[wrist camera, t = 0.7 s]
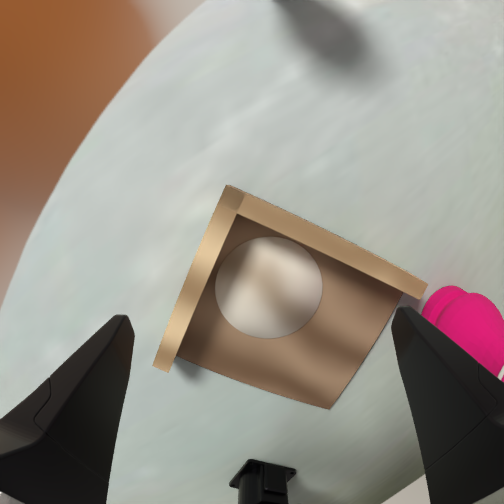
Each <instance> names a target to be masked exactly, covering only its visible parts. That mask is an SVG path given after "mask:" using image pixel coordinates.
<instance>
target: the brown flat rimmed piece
mask: <svg viewBox="0 0 504 504" xmlns="http://www.w3.org/2000/svg"><path fill="white" fill-rule="evenodd" d="M427 286H428V284H427V283H426V282H424V281H422V280H421V279H419V278H417V277H416V276H414V275H413V274H411V273H409V272H407V271H405V270H404V269H402V268H400V267H398V266H396V265H394V264H392V263H390V262H388V261H387V260H385V259H383V258H381V257H379V256H377V255H375V254H373V253H371V252H369V251H367V250H365V249H363V248H361V247H359V246H357V245H355V244H354V243H352V242H350V241H348V240H346V239H344V238H342V237H340V236H338V235H336V234H333V233H331V232H329V231H327V230H325V229H323V228H321V227H319V226H317V225H315V224H313V223H311V222H309V221H307V220H305V219H303V218H301V217H298V216H296V215H294V214H292V213H290V212H288V211H286V210H284V209H281V208H279V207H277V206H275V205H273V204H271V203H268V202H266V201H264V200H262V199H260V198H258V197H255V196H253V195H251V194H249V193H246V192H244V191H242V190H240V189H238V188H235V187H233V186H231V185H226V186H225V188H224V191H223V193H222V195H221V197H220V200H219V202H218V204H217V206H216V209H215V211H214V213H213V215H212V218H211V220H210V222H209V225H208V227H207V229H206V232H205V234H204V236H203V239H202V241H201V243H200V246H199V248H198V251H197V253H196V255H195V258H194V260H193V263H192V265H191V267H190V270H189V272H188V275H187V277H186V280H185V282H184V285H183V287H182V290H181V292H180V295H179V297H178V300H177V302H176V305H175V307H174V310H173V312H172V315H171V317H170V320H169V323H168V325H167V328H166V330H165V333H164V336H163V338H162V341H161V344H160V346H159V349H158V352H157V354H156V357H155V360H154V363H153V365H152V366H154V367H156V368H159V369H161V370H163V371H165V372H168V373H169V370H170V368H171V366H172V363H173V361H174V359H175V356H178V357H180V358H182V359H185V360H187V361H189V362H192V363H194V364H197V365H199V366H201V367H204V368H206V369H209V370H211V371H214V372H217V373H219V374H222V375H224V376H227V377H230V378H232V379H235V380H238V381H240V382H243V383H246V384H249V385H251V386H254V387H257V388H260V389H263V390H266V391H269V392H272V393H275V394H278V395H281V396H284V397H288V398H291V399H294V400H297V401H301V402H304V403H307V404H311V405H314V406H318V407H321V408H325V409H330V407H331V406H332V405H333V403H334V402H335V401H336V399H337V398H338V397H339V395H340V394H341V392H342V391H343V390H344V388H345V387H346V385H347V384H348V382H349V381H350V379H351V378H352V376H353V375H354V374H355V372H356V371H357V369H358V368H359V366H360V365H361V363H362V361H363V360H364V358H365V357H366V355H367V354H368V352H369V351H370V349H371V347H372V346H373V344H374V342H375V341H376V339H377V338H378V336H379V334H380V333H381V331H382V329H383V328H384V326H385V324H386V322H387V321H388V319H389V317H390V316H391V314H392V312H393V310H394V308H395V307H396V305H397V303H398V301H399V299H400V298H401V296H402V294H403V292H405V293H407V294H409V295H411V296H413V297H415V298H417V299H419V300H420V299H421V297H422V295H423V293H424V292H425V290H426V288H427Z"/></svg>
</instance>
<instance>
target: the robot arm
mask: <svg viewBox="0 0 504 504" xmlns="http://www.w3.org/2000/svg"><path fill="white" fill-rule="evenodd" d="M391 330H392V335H393V340H394V345H395V350H396V355H397V360H398V365H399V369H400V373H401V377H402V380H403V383H404V387H405V390H406V394H407V398H408V401H409V405H410V409H411V413H412V416H413V420H414V424H415V428H416V433H417V437H418V441H419V445H420V450H421V454H422V459H423V464H424V469H425V475H426V480H427V485H428V491H429V497H430V503H431V504H504V382H503V381H501V380H500V379H499V378H497V377H496V376H495V375H494V374H492V373H491V372H490V371H489V370H487V369H486V368H485V367H484V366H483V365H482V364H480V363H478V361H477V360H476V359H474V358H473V357H472V356H471V355H470V354H468V353H467V352H466V351H465V350H464V349H463V348H461V347H460V346H459V345H458V344H456V343H455V342H454V341H453V340H452V339H450V338H449V337H448V336H447V335H445V334H444V333H443V332H442V331H441V330H439V329H438V328H437V327H436V326H434V325H433V324H432V323H431V322H429V321H428V320H427V319H426V318H424V317H423V316H422V315H421V314H419V313H418V312H417V311H415V310H414V309H413V308H412V307H410V306H400V307H398V308H397V310H396V313H395V316H394V318H393V321H392V325H391ZM134 338H135V335H134V330H133V328H132V325H131V323H130V320H129V318H128V316H127V315H115V316H113V317H112V318H111V319H110V320H109V321H108V322H107V323H106V324H105V325H104V326H102V327H101V328H100V329H99V330H98V331H97V332H96V333H95V334H94V335H93V336H92V337H91V338H89V339H88V340H87V341H86V342H85V343H84V344H83V345H82V346H81V347H80V348H79V349H78V350H77V351H76V352H75V353H73V354H72V355H71V356H70V357H69V358H68V359H67V360H66V361H65V362H64V363H63V364H62V365H61V366H60V367H59V368H58V369H57V370H56V371H55V372H54V373H53V374H52V375H50V378H47V379H46V380H45V381H44V382H43V383H42V384H41V385H40V386H39V387H38V388H37V389H36V390H35V391H34V392H33V393H31V394H30V395H29V396H28V397H27V398H26V399H24V400H23V401H22V402H21V403H20V404H18V405H17V406H16V407H15V408H14V409H12V410H11V411H10V412H9V413H8V414H6V415H5V416H4V417H3V418H1V419H0V504H106V500H107V493H108V486H109V483H108V482H109V478H110V472H111V466H112V460H113V454H114V448H115V443H116V438H117V432H118V427H119V422H120V417H121V413H122V408H123V403H124V399H125V394H126V390H127V386H128V381H129V376H130V369H131V361H132V353H133V346H134ZM295 474H296V470H295V469H292V468H287V467H282V466H278V465H273V464H269V463H265V462H261V461H257V460H253V459H249V460H247V461H246V463H245V464H244V465H243V467H242V468H241V469H240V470H239V471H238V473H237V474H236V475H235V476H234V478H233V479H232V480H231V481H230V483H229V486H230V487H233V488H237V489H239V494H238V504H288V494H287V493H288V489H287V482H288V481H289V480H290V479H291V478H292V477H293V476H294V475H295Z"/></svg>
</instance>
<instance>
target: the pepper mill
mask: <svg viewBox="0 0 504 504" xmlns="http://www.w3.org/2000/svg"><path fill="white" fill-rule="evenodd" d="M421 315H422V316H423V317H424V318H426V319H427V320H428V321H429V322H431V323H432V324H433V325H434V326H436V327H437V328H438V329H439V330H441V331H442V332H443V333H444V334H445V335H447V336H448V337H449V338H450V339H452V340H453V341H454V342H455V343H456V344H458V345H459V346H460V347H461V348H463V349H464V350H465V351H466V352H467V353H468V354H470V355H471V356H472V357H473V358H474V359H476V360H477V361H478V363H480V364H482V365H483V366H484V367H485V368H486V369H487V370H489V371H490V372H491V373H492V374H494V375H495V376H496V377H497V378H499V379H500V380H501V381H503V382H504V320H503V318H502V316H501V314H500V312H499V310H498V309H497V308H496V306H495V305H494V304H493V303H492V302H491V301H490V300H489V299H487V298H486V297H485V296H483V295H481V294H478V293H467V292H466V291H464V290H462V289H461V288H459V287H456V286H446V287H443V288H441V289H439V290H438V291H436V292H435V293H434V294H433V295H432V296H431V297H430V298H429V300H428V301H427V302H426V304H425V306H424V308H423V311H422V314H421Z"/></svg>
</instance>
